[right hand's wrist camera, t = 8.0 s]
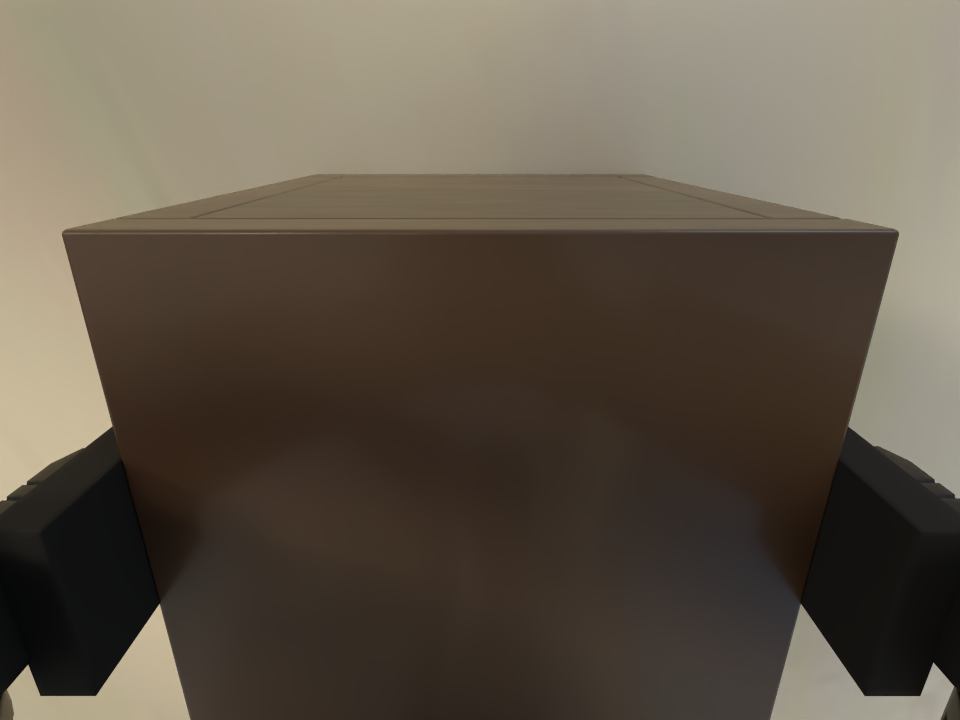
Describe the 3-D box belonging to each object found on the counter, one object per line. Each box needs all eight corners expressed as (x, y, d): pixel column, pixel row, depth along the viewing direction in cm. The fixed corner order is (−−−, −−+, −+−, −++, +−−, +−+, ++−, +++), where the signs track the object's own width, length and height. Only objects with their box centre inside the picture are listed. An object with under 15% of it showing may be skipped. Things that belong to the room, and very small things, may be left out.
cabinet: (596, 646, 25) (687, 1035, 14) (362, 646, 25) (272, 1035, 14) (644, 174, 18) (902, 230, 7) (315, 174, 18) (58, 230, 7)
